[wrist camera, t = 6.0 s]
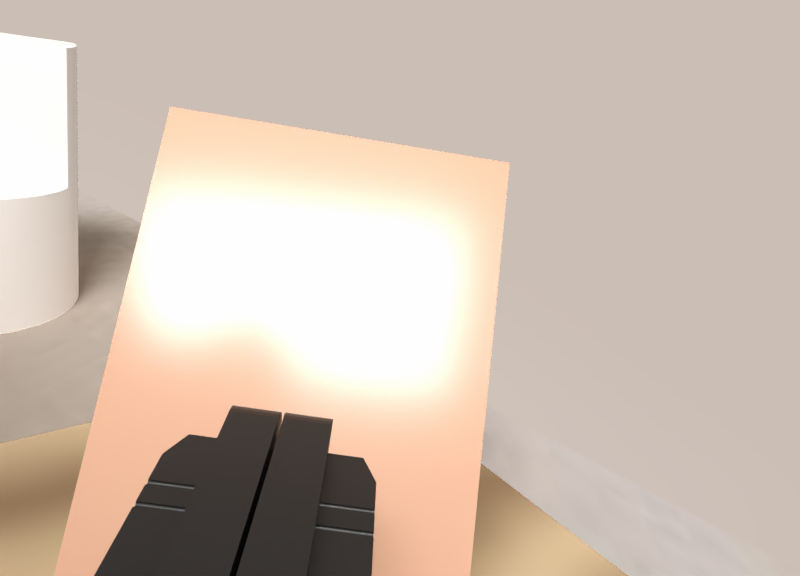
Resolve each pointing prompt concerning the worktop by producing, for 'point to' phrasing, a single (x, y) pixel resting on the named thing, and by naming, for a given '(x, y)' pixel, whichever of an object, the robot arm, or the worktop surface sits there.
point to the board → (60, 465)
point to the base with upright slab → (37, 181)
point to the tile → (306, 323)
